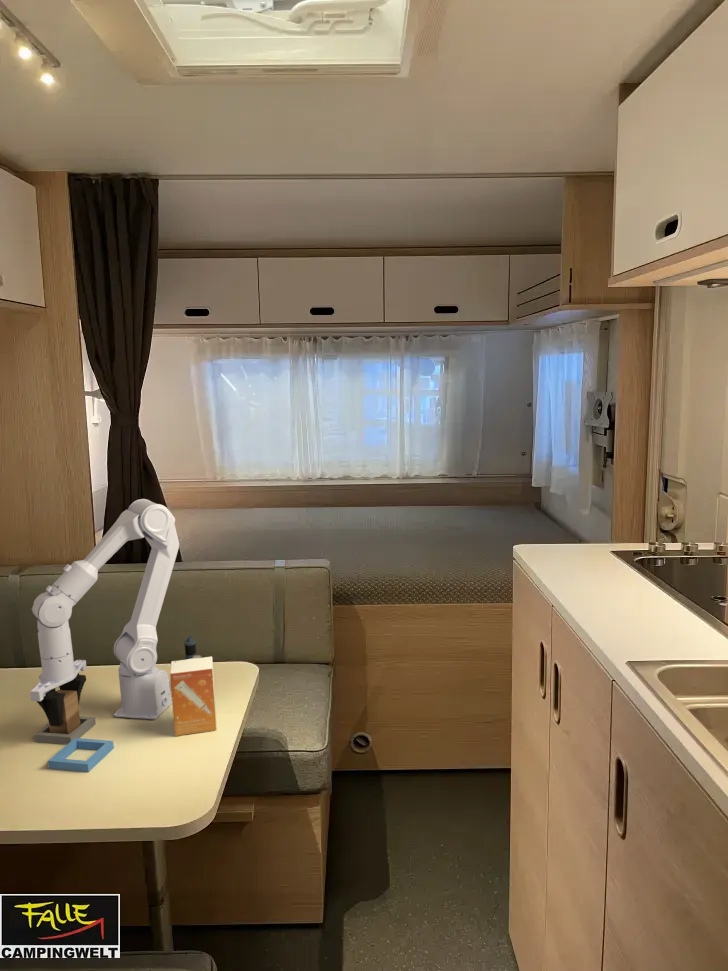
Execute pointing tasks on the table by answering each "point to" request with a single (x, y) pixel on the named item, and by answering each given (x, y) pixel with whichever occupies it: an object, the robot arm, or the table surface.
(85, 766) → the blue rim cradle
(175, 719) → the small box
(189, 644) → the vaping device
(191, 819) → the table surface
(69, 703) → the walnut peg
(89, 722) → the frame
